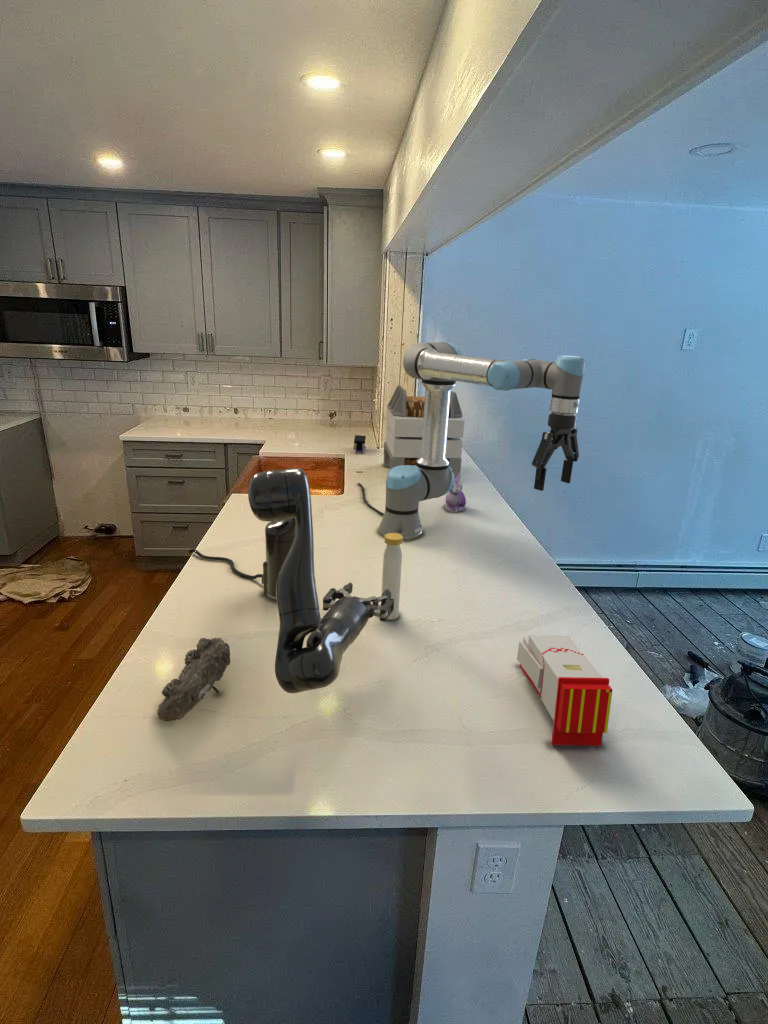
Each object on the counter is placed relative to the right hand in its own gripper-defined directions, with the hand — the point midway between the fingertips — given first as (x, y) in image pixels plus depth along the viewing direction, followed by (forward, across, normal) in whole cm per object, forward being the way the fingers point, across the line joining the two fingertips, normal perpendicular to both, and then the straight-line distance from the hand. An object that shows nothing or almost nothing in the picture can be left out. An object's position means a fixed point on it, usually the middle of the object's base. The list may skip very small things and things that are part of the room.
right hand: (552, 485), depth 166 cm
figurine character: (+28, +49, +151) cm, 161 cm away
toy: (+28, -49, -38) cm, 68 cm away
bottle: (+28, -54, +8) cm, 62 cm away
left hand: (+12, -70, -2) cm, 71 cm away
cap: (+6, -54, +8) cm, 55 cm away
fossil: (+28, -105, +8) cm, 109 cm away
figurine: (+28, +22, +55) cm, 66 cm away
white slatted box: (+28, +46, +101) cm, 115 cm away
